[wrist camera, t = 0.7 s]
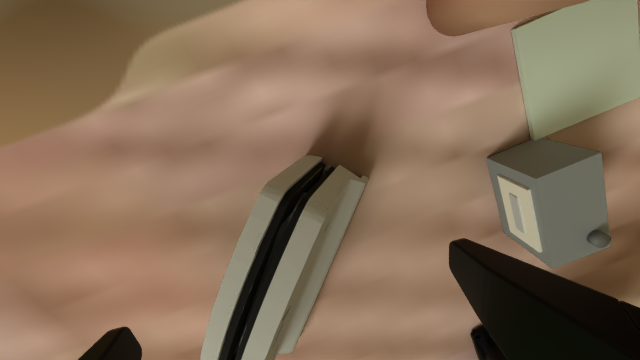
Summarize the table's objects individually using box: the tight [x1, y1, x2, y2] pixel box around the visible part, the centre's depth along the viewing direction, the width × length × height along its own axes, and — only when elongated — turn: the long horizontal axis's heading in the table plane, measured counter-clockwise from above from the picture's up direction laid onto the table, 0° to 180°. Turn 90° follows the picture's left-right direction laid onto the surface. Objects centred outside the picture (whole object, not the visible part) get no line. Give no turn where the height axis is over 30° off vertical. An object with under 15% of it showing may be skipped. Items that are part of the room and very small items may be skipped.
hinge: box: [200, 155, 369, 360], centre depth 20 cm, size 17×5×10 cm, turn 160°
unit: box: [486, 138, 611, 269], centre depth 21 cm, size 7×4×6 cm, turn 23°
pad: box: [511, 0, 640, 141], centre depth 21 cm, size 8×8×1 cm
